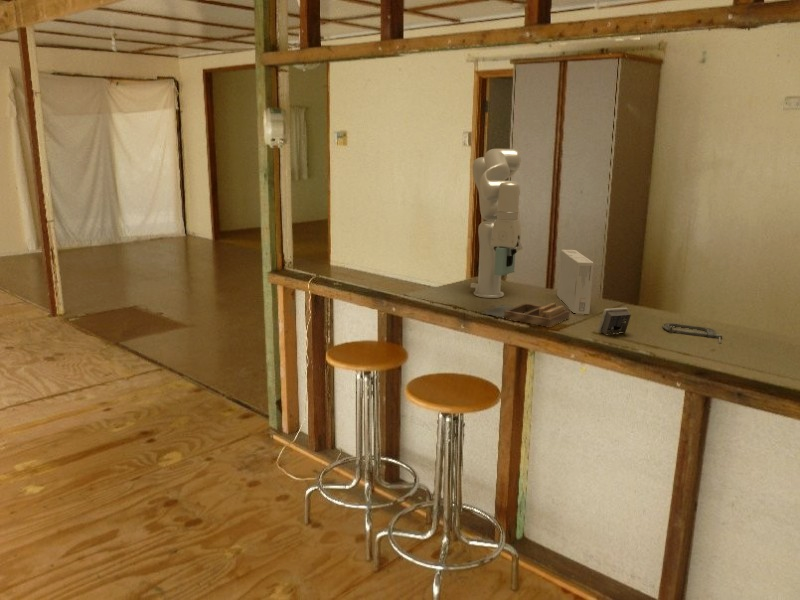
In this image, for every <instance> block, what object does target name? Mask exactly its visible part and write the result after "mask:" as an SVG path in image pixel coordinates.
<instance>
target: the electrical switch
mask: <svg viewBox="0 0 800 600" xmlns="http://www.w3.org/2000/svg"><path fill="white" fill-rule="evenodd" d="M631 316H632V314H630V313H629V308H628V307H614V308H613V307H612V308H605V309H604V310H603V312H602V315H601V319H600V322H599V325H598V329H597V331H598V333H599V334H604V336H607V335H606V334H613V333H619V332H624V334H626V331H627V328H628V325H629V322H630V319H631ZM612 331H613V332H612Z"/></svg>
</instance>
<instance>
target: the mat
mask: <svg viewBox="0 0 800 600" xmlns="http://www.w3.org/2000/svg"><path fill="white" fill-rule="evenodd" d="M514 307H515V306H509V305H504V304H503V305H498V306H496V307H492V308H491V309H488V310H485V311H483V312H480V315H482V314H487V315H493V316H498V317H504V311H506V310H508V309H511V308H514ZM487 315H486V316H487ZM498 317H497V318H498Z"/></svg>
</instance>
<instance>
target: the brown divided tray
mask: <svg viewBox="0 0 800 600" xmlns="http://www.w3.org/2000/svg"><path fill="white" fill-rule="evenodd" d="M544 306H545V305H544ZM544 306H543V305H538V304H533V303H527V302H525V303H522V304H519V305H516V306H513V307H514V308H511V309H508V310H506V311H504V318H507V319H511V320H510V321H512V320H516V321H515V322H517V321H520V322H519V323H522V322H526V323H525V324H527V323H531V324H530V325H532V324H536V325H535V326H538V325H543V326H548V327H551V326H553V325H555V324H557V323H559V322H561V321H563V320H565V319H568V318H569V319H570V312H571V310H567V309H566V310H565V309H564V312H562V313H560V314H558V315H555V316H553V317H551V318H544V317H539V308H541V307H544ZM523 312H524V313H523ZM504 318H503V319H504ZM507 319H506V320H507ZM569 319H568V320H569ZM565 321H566V320H565ZM563 322H564V321H563ZM561 323H562V322H561ZM559 324H560V323H559ZM557 325H558V324H557ZM543 326H542V327H543ZM555 326H556V325H555ZM548 327H547V328H548ZM553 327H554V326H553ZM551 328H552V327H551Z"/></svg>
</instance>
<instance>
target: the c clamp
mask: <svg viewBox="0 0 800 600" xmlns="http://www.w3.org/2000/svg"><path fill="white" fill-rule="evenodd" d="M671 326H672V327H671ZM673 326H675V327H673ZM676 327H681V328H680V329H679V328H676ZM662 328H663V329H664V330H665V331H667V332H668V333H669V332H671V333H670V334H673V333H672V332H675V333H676V334H681V333H682V334H681V335H689V334H690V335H691V336H699V337H704V338H706V337H707V338H710V339H718V344H719V345H722V338H723V334H718V333H717V330H715V329H714V328H709V327H704V326H698V325H697V326H695V325H691V324H688V325H687V324H681V323H674V322H673V323H672V322H666V323H663V324H662ZM685 328H689V329H688V330H687V329H685ZM693 329H697V330H696V331H695V330H693ZM701 331H702V332H701Z"/></svg>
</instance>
